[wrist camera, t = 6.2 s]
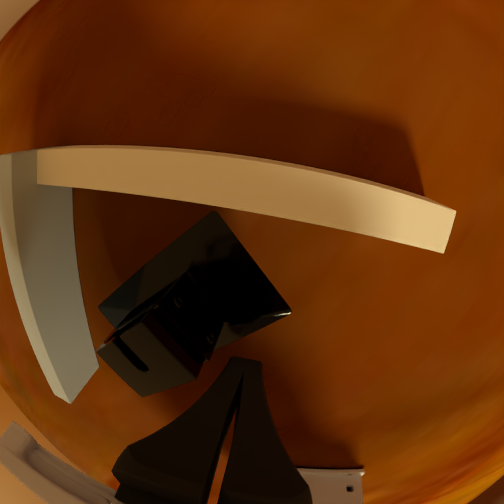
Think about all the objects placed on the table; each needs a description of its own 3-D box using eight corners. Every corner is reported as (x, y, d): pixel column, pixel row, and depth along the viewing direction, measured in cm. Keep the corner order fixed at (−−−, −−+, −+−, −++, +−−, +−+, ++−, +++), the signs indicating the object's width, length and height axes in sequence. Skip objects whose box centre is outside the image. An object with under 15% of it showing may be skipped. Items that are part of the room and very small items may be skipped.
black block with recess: (235, 172, 11) (199, 186, 7) (329, 305, 12) (342, 376, 8) (83, 302, 15) (37, 343, 10) (158, 383, 16) (130, 435, 12)
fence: (425, 197, 9) (481, 223, 6) (327, 423, 15) (329, 474, 11) (55, 146, 11) (-4, 155, 7) (83, 359, 16) (54, 394, 12)
